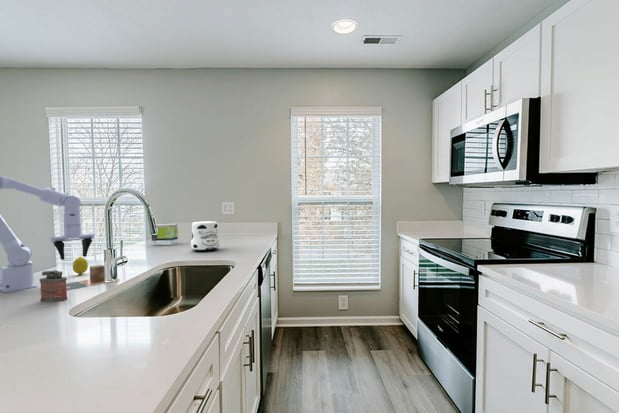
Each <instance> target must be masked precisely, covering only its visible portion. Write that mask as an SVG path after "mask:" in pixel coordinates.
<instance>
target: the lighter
mask: <svg viewBox="0 0 619 413" xmlns="http://www.w3.org/2000/svg"><path fill="white" fill-rule="evenodd" d="M41 276H46V277H42V278H39V283H40V288H41V289H40V302H43V303H44V302H45V303H49V302H50V303H51V302H65V301H67V300H68V299H69V298H68V296H67V294H68V293H67V292H68V290H67V289H66V284H67V280H68V277H67V276H63V271H62V270H60V271H59V270H57V269H55V270H43V271H42V272H41Z"/></svg>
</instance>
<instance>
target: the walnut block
mask: <svg viewBox="0 0 619 413" xmlns="http://www.w3.org/2000/svg"><path fill="white" fill-rule="evenodd" d="M105 267H106V266H105V265H103V264H96V265H90V266H89V279H90V281H91V282H93V283H95V282H100V281H105V277H106V273H105V271H106V270H105Z"/></svg>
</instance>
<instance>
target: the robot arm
mask: <svg viewBox="0 0 619 413" xmlns="http://www.w3.org/2000/svg"><path fill="white" fill-rule="evenodd" d="M0 190H16V191H20V192H23V193H26V194H30V195H33V196H37V197H39V200H40V201H41V202H44V203H48V204H50V205H53V206H56V207H63V208H64V213H63V229H64V230H63V234H64V235H61V236H60V235H59V236H52V237H50V243H53V245H54V247H55V248H56V250H57V252H58V255H59V257H60V260H62V261H64V260H65V243H64V242H68V241H69V242H70V241H71V242H73V241H81V246H82V257H83V258H84V257H85V258H86V257H87V255H88V251H89V248H90V246H91V244H92V242H93V240H94V239H95V233H86V234H83V233H82V215H81V214H82V213H81V209H80V207H81V206H82V201H81V199H80V198H79V197H78V196H75V195H70V193H69V192H66V193H65V192H64V191H59V190H57V189H56V188H55V187H51V188H50V187H46V188H39V187H37V186H35V185H31V184H28V183H25V182H24V181H21V180H19V179H18V180H17V179H15V178H11V177H7V176H2V175H0ZM0 243H1V245H2V247H3V250H4V251H5V253H6V255H7V256H6V257H7V258H6V259H7V261H8V264H7V265H6V266H1V267H0V291H2V292H3V293H9V292H15V291H21V290H25V289H31V288H37V287H38V285H37V284H36V283H34V281H35V280H34V264H33V263H34V262H33V261H31V260H30V259H31V258H32V256H33V255H32V254H33V251H32V250H31V248H30V247H29V246H26V245H25V244H23V242H22V241H21V240H20V239H19V237H17V236H16V234H15V233H14V231H13V230H12V229H11V227H10V226H9V224H8V222H7V221H6V220H5V218H4V217H3V216H2V215H1V214H0Z"/></svg>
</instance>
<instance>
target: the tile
mask: <svg viewBox="0 0 619 413" xmlns="http://www.w3.org/2000/svg"><path fill="white" fill-rule="evenodd" d="M112 280H113V281H100V282H95V283H93V282H91V281H90V278H89V279H85V280H79V282H80V283H82V284H85V285H87V286H88V287H89V286H90V287H91V286H95V285H101V284H106V283H110V282H111V283H112V282H115V281H116V280H115V279H112Z"/></svg>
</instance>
